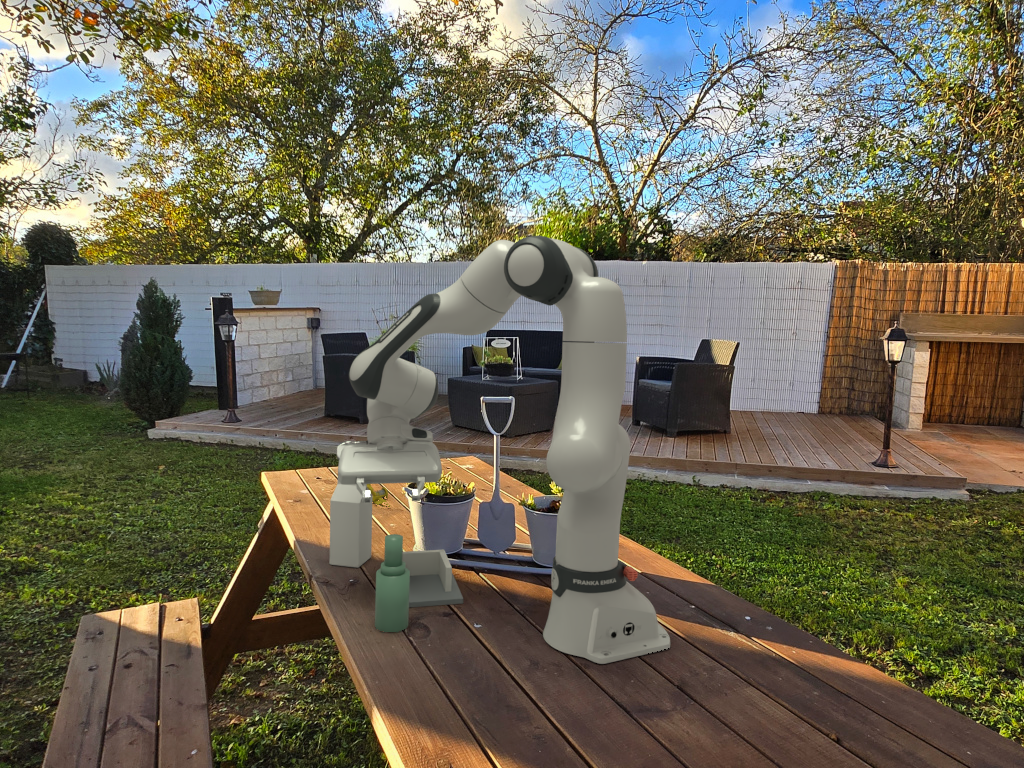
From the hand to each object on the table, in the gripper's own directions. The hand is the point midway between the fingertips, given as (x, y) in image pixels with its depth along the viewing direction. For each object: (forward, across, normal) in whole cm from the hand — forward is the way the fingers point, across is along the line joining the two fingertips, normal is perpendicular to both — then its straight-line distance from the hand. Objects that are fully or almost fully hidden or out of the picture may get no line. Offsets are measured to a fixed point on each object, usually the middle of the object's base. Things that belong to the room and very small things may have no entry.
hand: (391, 500), depth 123 cm
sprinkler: (-39, -2, +69) cm, 79 cm away
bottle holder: (+9, +7, +21) cm, 24 cm away
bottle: (+20, 0, +9) cm, 23 cm away
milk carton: (-3, -7, +34) cm, 34 cm away
